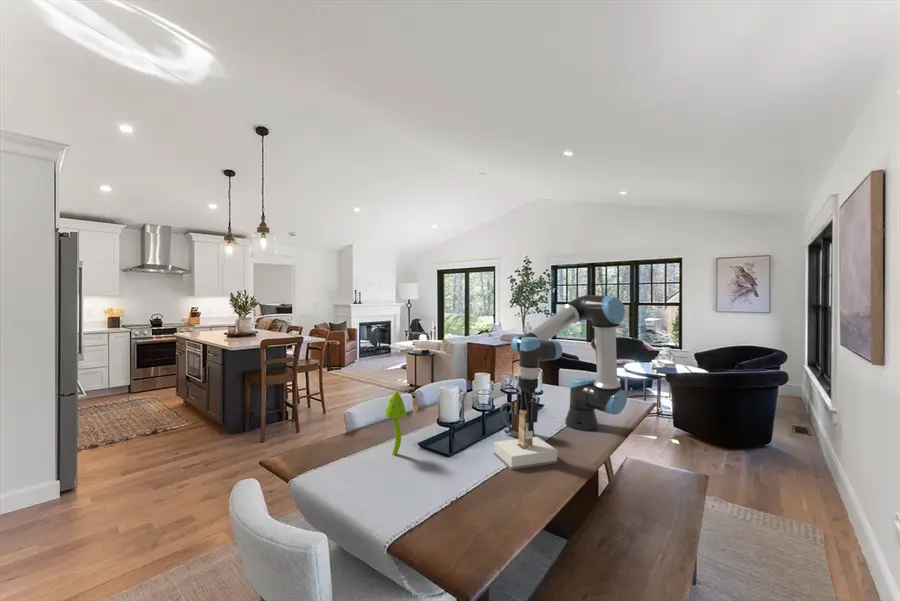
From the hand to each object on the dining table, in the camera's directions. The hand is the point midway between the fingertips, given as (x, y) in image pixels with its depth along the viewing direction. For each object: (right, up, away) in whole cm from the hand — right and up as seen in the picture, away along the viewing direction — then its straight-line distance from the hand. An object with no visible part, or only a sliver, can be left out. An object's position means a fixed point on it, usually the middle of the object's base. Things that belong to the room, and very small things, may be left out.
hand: (525, 436), depth 159 cm
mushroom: (-51, -7, 0) cm, 52 cm away
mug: (0, -8, +24) cm, 26 cm away
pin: (0, -3, 0) cm, 3 cm away
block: (0, -9, +1) cm, 9 cm away
